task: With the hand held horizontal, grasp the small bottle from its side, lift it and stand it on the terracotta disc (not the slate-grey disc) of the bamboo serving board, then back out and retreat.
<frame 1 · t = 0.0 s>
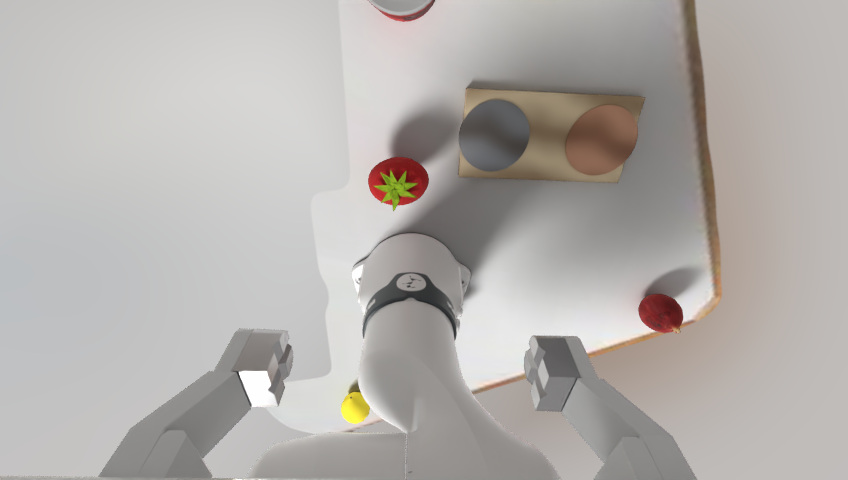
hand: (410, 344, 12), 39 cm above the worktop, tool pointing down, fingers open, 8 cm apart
strawberry: (400, 167, 49), on the worktop
onion: (646, 297, 61), on the worktop
lemon: (357, 394, 71), on the worktop
board: (544, 137, 47), on the worktop
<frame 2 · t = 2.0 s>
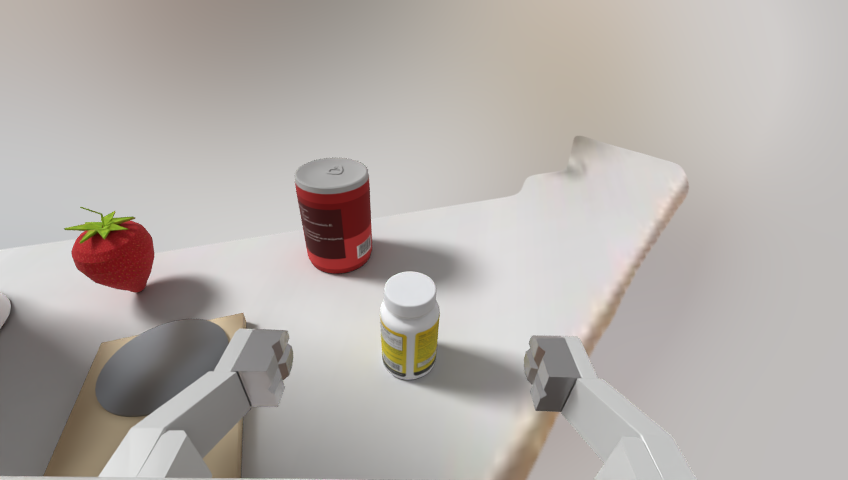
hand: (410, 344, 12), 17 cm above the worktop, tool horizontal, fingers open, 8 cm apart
strawberry: (139, 292, 37), on the worktop
supplement bottle: (408, 359, 32), on the worktop
canned food: (341, 255, 44), on the worktop
board: (154, 456, 24), on the worktop
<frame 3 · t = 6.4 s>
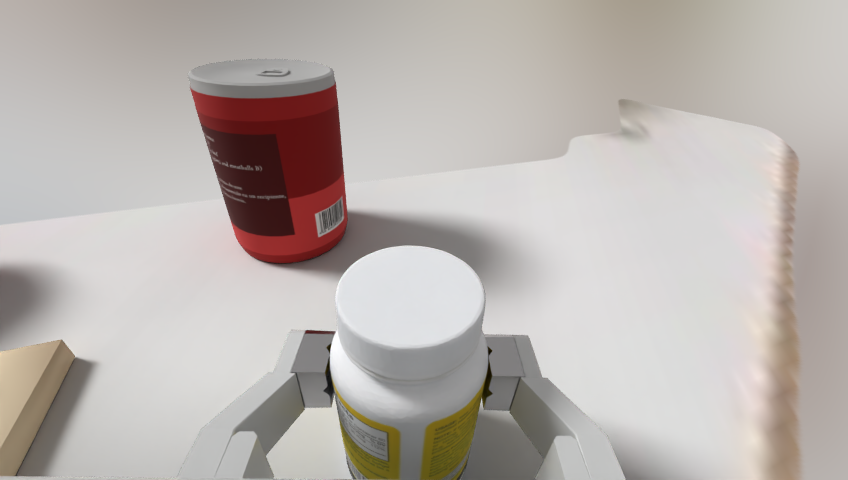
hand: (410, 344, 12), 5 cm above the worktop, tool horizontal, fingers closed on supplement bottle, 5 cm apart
supplement bottle: (407, 448, 14), on the worktop, touching gripper
canned food: (296, 235, 26), on the worktop
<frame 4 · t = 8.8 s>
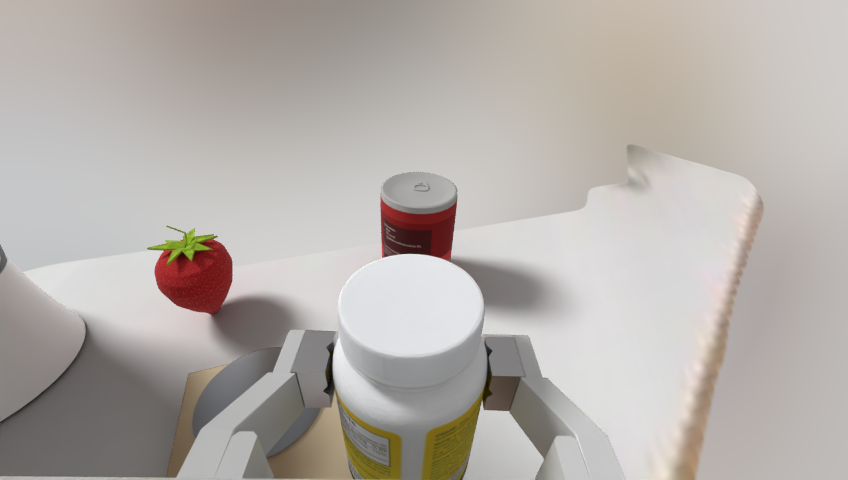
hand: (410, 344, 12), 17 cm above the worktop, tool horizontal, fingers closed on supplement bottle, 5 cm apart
strawberry: (213, 313, 35), on the worktop
supplement bottle: (407, 452, 14), point 11 cm above the worktop, touching gripper
canned food: (415, 275, 41), on the worktop
when the fingers open (8 cm above the worktop, at t = 11.5 s): supplement bottle stays where it is, resting on board.
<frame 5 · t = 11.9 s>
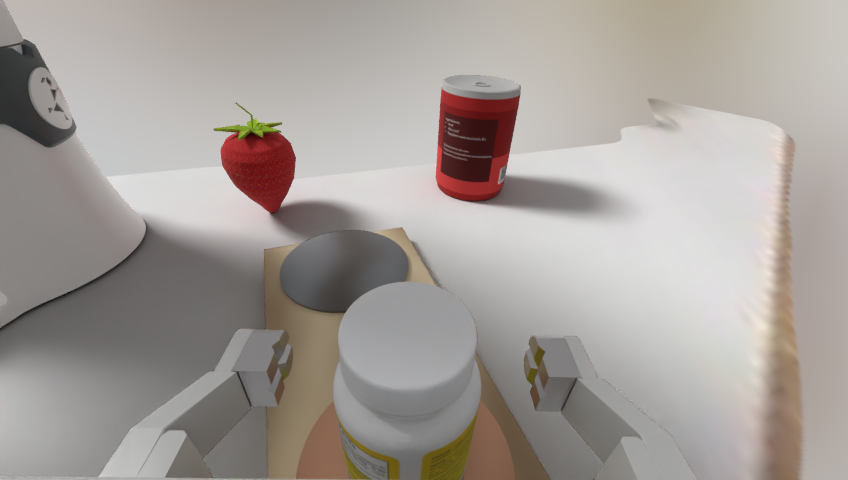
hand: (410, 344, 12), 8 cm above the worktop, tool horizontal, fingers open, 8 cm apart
strawberry: (272, 213, 34), on the worktop
supplement bottle: (406, 465, 15), point 1 cm above the worktop, touching board
canned food: (468, 187, 41), on the worktop
board: (369, 354, 21), on the worktop
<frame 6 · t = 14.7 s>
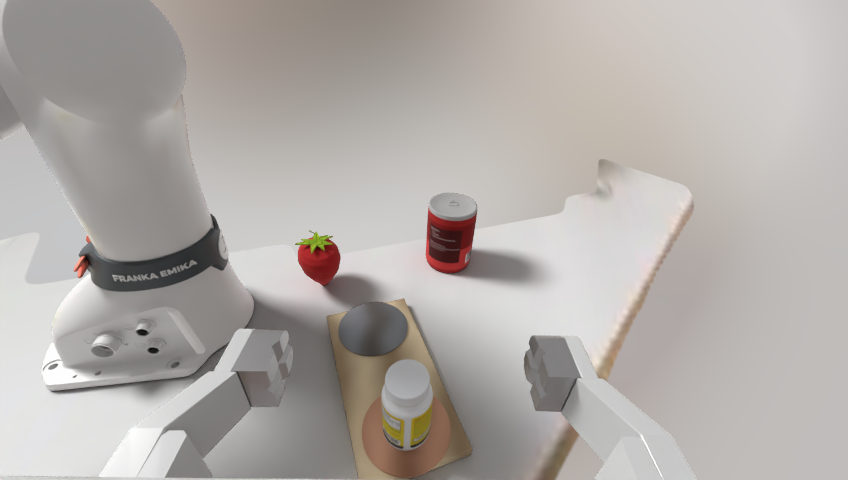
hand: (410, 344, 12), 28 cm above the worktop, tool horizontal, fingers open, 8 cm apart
strawberry: (323, 285, 55), on the worktop
supplement bottle: (406, 428, 36), point 1 cm above the worktop, touching board
canned food: (447, 260, 62), on the worktop
board: (388, 378, 42), on the worktop
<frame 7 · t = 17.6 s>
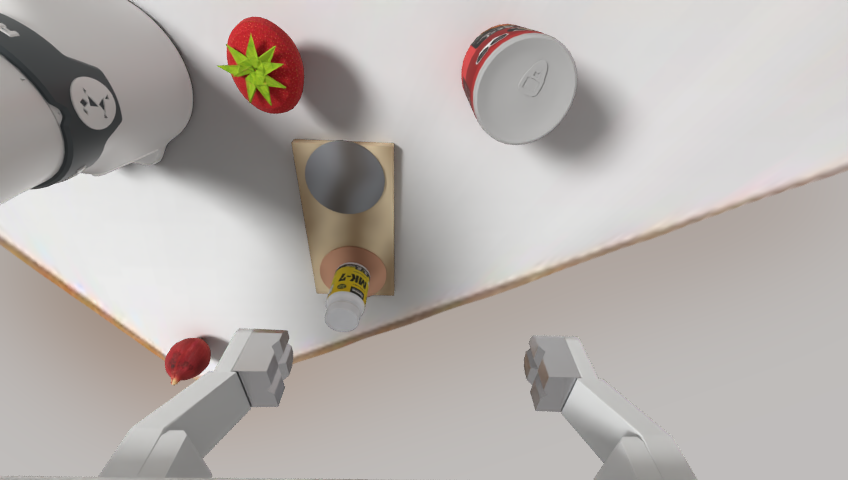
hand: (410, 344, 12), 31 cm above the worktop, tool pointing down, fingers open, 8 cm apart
strawberry: (287, 58, 35), on the worktop
onion: (201, 338, 58), on the worktop
supplement bottle: (353, 273, 49), point 1 cm above the worktop, touching board
canned food: (498, 69, 36), on the worktop
board: (351, 224, 46), on the worktop
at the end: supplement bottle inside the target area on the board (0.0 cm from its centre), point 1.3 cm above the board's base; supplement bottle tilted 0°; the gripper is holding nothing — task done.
